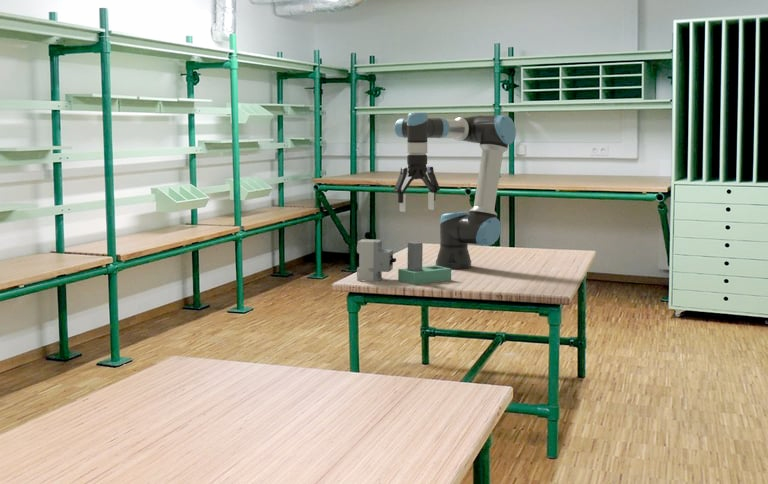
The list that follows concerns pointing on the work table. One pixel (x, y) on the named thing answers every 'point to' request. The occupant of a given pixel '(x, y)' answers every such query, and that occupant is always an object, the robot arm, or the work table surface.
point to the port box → (425, 275)
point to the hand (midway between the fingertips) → (416, 210)
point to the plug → (415, 256)
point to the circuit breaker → (373, 260)
